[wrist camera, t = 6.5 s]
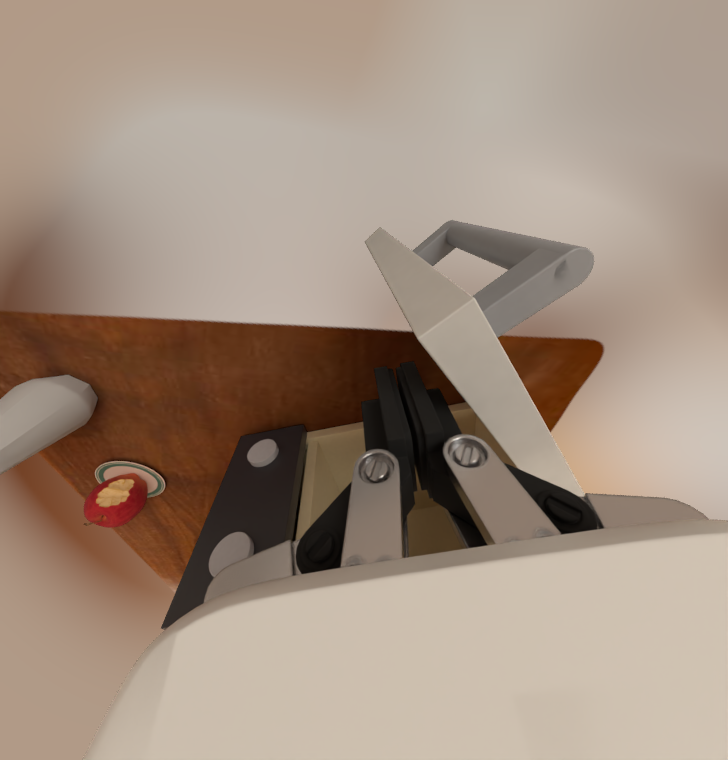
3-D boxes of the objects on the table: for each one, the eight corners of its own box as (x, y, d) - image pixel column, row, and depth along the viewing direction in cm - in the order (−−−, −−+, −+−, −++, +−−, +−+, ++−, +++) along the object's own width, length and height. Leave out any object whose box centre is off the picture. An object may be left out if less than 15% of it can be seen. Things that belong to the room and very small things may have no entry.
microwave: (238, 430, 32) (150, 629, 17) (483, 383, 30) (616, 556, 16) (302, 525, 46) (284, 679, 31) (472, 496, 44) (537, 643, 30)
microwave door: (425, 184, 19) (687, 145, 5) (524, 369, 30) (699, 534, 15) (364, 241, 21) (416, 339, 7) (477, 396, 31) (594, 566, 17)
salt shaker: (91, 368, 26) (-83, 488, 15) (117, 412, 29) (-12, 536, 18) (24, 366, 25) (-208, 489, 14) (57, 410, 28) (-112, 538, 18)
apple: (82, 464, 33) (33, 514, 28) (142, 453, 33) (104, 502, 28) (126, 497, 38) (91, 547, 33) (179, 488, 38) (152, 537, 32)
